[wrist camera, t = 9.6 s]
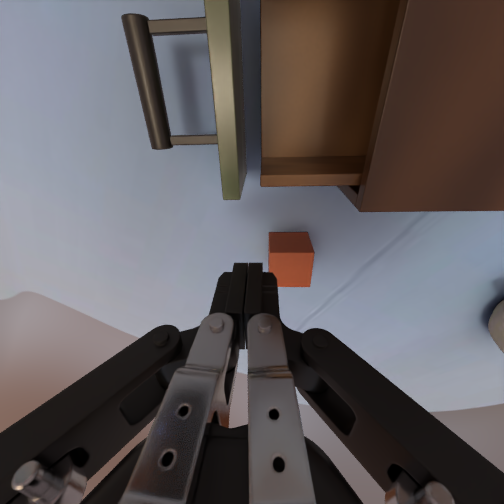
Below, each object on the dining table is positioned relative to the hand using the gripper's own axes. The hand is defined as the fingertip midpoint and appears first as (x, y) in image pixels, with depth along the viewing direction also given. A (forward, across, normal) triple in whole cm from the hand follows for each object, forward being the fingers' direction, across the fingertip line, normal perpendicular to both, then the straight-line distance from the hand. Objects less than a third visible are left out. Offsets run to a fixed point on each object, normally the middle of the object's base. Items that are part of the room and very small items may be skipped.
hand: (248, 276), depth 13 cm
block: (+14, -4, +7) cm, 16 cm away
